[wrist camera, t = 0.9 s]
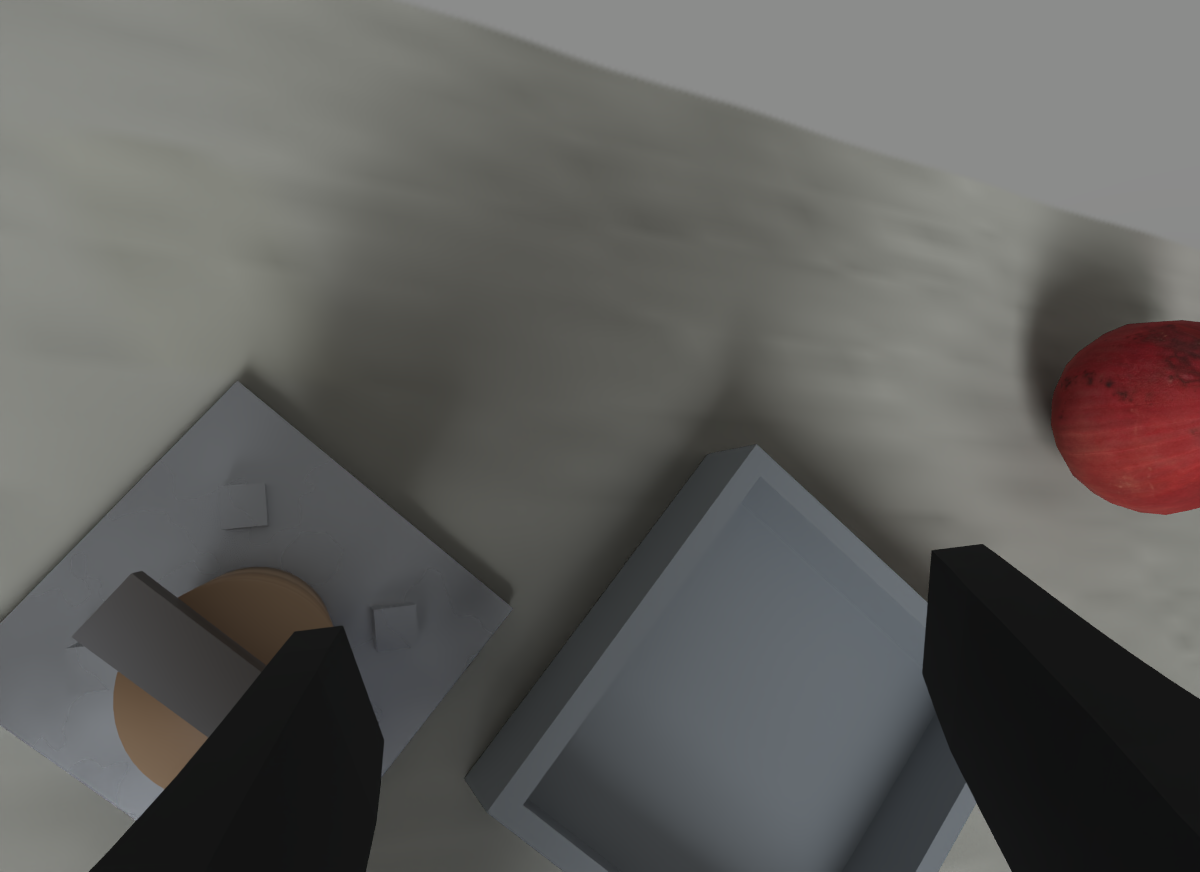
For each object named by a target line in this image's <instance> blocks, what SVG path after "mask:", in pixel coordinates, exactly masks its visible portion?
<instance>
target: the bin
mask: <svg viewBox="0 0 1200 872" xmlns="http://www.w3.org/2000/svg"><path fill="white" fill-rule="evenodd" d="M927 604H928V602H926V601H925V600H924V599H923V598H922V597H921V596H920V595H919V594H918V593H917V592H916V591H915V590H914V589H912V588H911V587H910V586H909V585H908V584H907V583H906V582H905V581H904V580H903V579H902V578H901V577H899V576H898V575H897V574H896V573H895V572H894V571H893V570H892V569H891V568H890V567H889V566H888V565H887V564H885V563H884V562H883V561H882V560H881V559H880V558H879V557H878V556H877V555H876V554H875V553H874V552H873V551H871V550H870V549H869V548H868V547H867V546H866V545H865V544H864V543H863V542H862V541H861V540H860V539H858V538H857V537H856V536H855V535H854V534H853V533H852V532H851V531H850V530H849V529H848V528H847V527H846V526H844V525H843V524H842V523H841V522H840V521H839V520H838V519H837V518H836V517H835V516H834V515H833V514H832V513H830V512H829V511H828V510H827V509H826V508H825V507H824V506H823V505H822V504H821V503H820V502H819V501H817V500H816V499H815V498H814V497H813V496H812V495H811V494H810V493H809V492H808V491H807V490H806V489H805V488H803V487H802V486H801V485H800V484H799V483H798V482H797V481H796V480H795V479H794V478H793V477H792V476H791V475H789V474H788V473H787V472H786V471H785V470H784V469H783V468H782V467H781V466H780V465H779V464H778V463H776V462H775V461H774V460H773V459H772V458H771V457H770V456H769V455H768V454H767V453H766V452H765V451H764V450H762V449H761V448H760V447H759V446H758V445H757V444H755V445H750V446H745V447H740V448H735V449H730V450H725V451H720V452H715V453H710V454H707V456H706V457H705V458H704V460H703V461H702V462H701V464H700V465H699V466H698V468H697V469H696V470H695V472H694V473H693V474H692V476H691V477H690V478H689V480H688V481H687V482H686V484H685V485H684V486H683V488H682V489H681V490H680V492H679V493H678V494H677V496H676V497H675V498H674V500H673V501H672V502H671V504H670V505H669V506H668V508H667V509H666V510H665V512H664V513H663V514H662V516H661V517H660V518H659V520H658V521H657V522H656V524H655V525H654V526H653V528H652V529H651V530H650V532H649V533H648V534H647V536H646V537H645V538H644V540H643V541H642V542H641V544H640V545H639V546H638V548H637V549H636V550H635V552H634V553H633V554H632V556H631V557H630V558H629V560H628V561H627V562H626V564H625V565H624V566H623V568H622V569H621V570H620V572H619V573H618V574H617V576H616V577H615V578H614V580H613V581H612V582H611V584H610V585H609V586H608V588H607V589H606V590H605V592H604V593H603V594H602V596H601V597H600V598H599V600H598V601H597V602H596V604H595V605H594V606H593V608H592V609H591V610H590V612H589V613H588V614H587V616H586V617H585V618H584V620H583V621H582V622H581V624H580V625H579V626H578V628H577V629H576V630H575V632H574V633H573V634H572V636H571V637H570V638H569V640H568V641H567V642H566V644H565V645H564V646H563V648H562V649H561V650H560V652H559V653H558V654H557V656H556V657H555V658H554V660H553V661H552V662H551V664H550V665H549V666H548V668H547V669H546V670H545V672H544V673H543V674H542V676H541V677H540V678H539V680H538V681H537V682H536V684H535V685H534V686H533V688H532V689H531V690H530V692H529V693H528V694H527V696H526V697H525V698H524V700H523V701H522V702H521V704H520V705H519V706H518V708H517V709H516V710H515V712H514V713H513V714H512V716H511V717H510V718H509V720H508V721H507V722H506V724H505V725H504V726H503V728H502V729H501V730H500V732H499V733H498V734H497V736H496V737H495V738H494V740H493V741H492V742H491V744H490V745H489V746H488V748H487V749H486V750H485V752H484V753H483V754H482V756H481V757H480V758H479V760H478V761H477V762H476V764H475V765H474V766H473V768H472V769H471V770H470V772H469V773H468V774H467V776H466V777H465V778H464V779H465V781H466V782H467V784H468V785H469V787H470V788H471V790H472V791H473V793H474V794H475V796H476V797H477V799H478V800H479V802H480V803H481V805H482V806H483V808H484V809H485V811H486V812H487V813H488V814H489V815H491V816H492V817H493V818H495V819H496V820H497V821H499V822H500V823H501V824H502V825H504V826H505V827H506V828H508V829H509V830H510V831H512V832H513V833H514V834H515V835H517V836H518V837H519V838H521V839H522V840H523V841H525V842H526V843H527V844H528V845H530V846H531V847H532V848H534V849H535V850H536V851H538V852H539V853H540V854H541V855H543V856H544V857H545V858H547V859H548V860H549V861H551V862H552V863H553V864H554V865H556V866H557V867H558V868H560V869H561V870H562V871H564V872H938V871H939V869H940V867H941V866H942V864H943V862H944V860H945V858H946V857H947V855H948V853H949V851H950V849H951V848H952V846H953V844H954V842H955V840H956V839H957V837H958V835H959V833H960V831H961V830H962V828H963V826H964V824H965V822H966V821H967V819H968V817H969V815H970V813H971V812H972V810H973V808H974V806H975V804H976V801H975V799H974V797H973V795H972V793H971V791H970V789H969V787H968V785H967V783H966V781H965V779H964V777H963V775H962V773H961V771H960V769H959V767H958V765H957V763H956V761H955V759H954V757H953V755H952V753H951V751H950V749H949V746H948V743H947V741H946V738H945V735H944V733H943V730H942V728H941V725H940V722H939V720H938V717H937V714H936V712H935V709H934V706H933V703H932V700H931V697H930V695H929V692H928V689H927V686H926V683H925V680H924V678H923V675H922V668H923V655H924V643H925V630H926V617H927Z"/></svg>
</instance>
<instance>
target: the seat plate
mask: <svg viewBox="0 0 1200 872" xmlns="http://www.w3.org/2000/svg"><path fill="white" fill-rule="evenodd" d="M247 567H270V568H275V569H280V570H283V571H286V572H289V573H291V574H293V575H295V576H297V577H299V578H300V579H302V580H303V581H305V582H306V583H307V584H308V585H309V586H311V587H312V588H313V589H314V590H315V592H316V593H317V594H318V595H319V596H320V598H321V599H322V601H323V603H324V604H325V606H326V609H327V611H328V613H329V616H330V619H331V621H332V624H333V627H334V626H342V625H343V627H344V629H345V632H346V635H347V638H348V641H349V643H350V646H351V649H352V652H353V654H354V657H355V660H356V663H357V666H358V668H359V671H360V674H361V677H362V679H363V682H364V685H365V688H366V691H367V693H368V696H369V699H370V702H371V704H372V707H373V710H374V713H375V716H376V718H377V721H378V724H379V727H380V729H381V732H382V735H383V738H384V750H383V762H382V774H381V777H382V776H383V775H384V773H385V772H386V771H387V769H388V768H389V767H390V766H391V764H392V763H393V762H394V760H395V759H396V758H397V757H398V755H399V754H400V753H401V751H402V750H403V749H404V748H405V746H406V745H407V744H408V743H409V741H410V740H411V739H412V737H413V736H414V735H415V734H416V732H417V731H418V730H419V728H420V727H421V726H422V725H423V723H424V722H425V721H426V719H427V718H428V717H429V716H430V714H431V713H432V712H433V711H434V709H435V708H436V707H437V705H438V704H439V703H440V702H441V700H442V699H443V698H444V696H445V695H446V694H447V693H448V691H449V690H450V689H451V687H452V686H453V685H454V684H455V682H456V681H457V680H458V679H459V677H460V676H461V675H462V673H463V672H464V671H465V670H466V668H467V667H468V666H469V664H470V663H471V662H472V661H473V659H474V658H475V657H476V655H477V654H478V653H479V652H480V650H481V649H482V648H483V647H484V645H485V644H486V643H487V641H488V640H489V639H490V638H491V636H492V635H493V634H494V632H495V631H496V630H497V629H498V627H499V626H500V625H501V623H502V622H503V621H504V620H505V618H506V617H507V616H508V614H509V613H510V612H511V611H512V609H513V608H512V607H511V606H510V605H508V604H507V603H506V602H505V601H504V600H502V599H501V598H500V597H499V596H498V595H496V594H495V593H494V592H493V591H492V590H490V589H489V588H488V587H487V586H485V585H484V584H483V583H482V582H481V581H479V580H478V579H477V578H476V577H475V576H473V575H472V574H471V573H470V572H469V571H467V570H466V569H465V568H464V567H462V566H461V565H460V564H459V563H458V562H456V561H455V560H454V559H453V558H452V557H450V556H449V555H448V554H447V553H446V552H444V551H443V550H442V549H441V548H439V547H438V546H437V545H436V544H435V543H433V542H432V541H431V540H430V539H429V538H427V537H426V536H425V535H424V534H423V533H421V532H420V531H419V530H418V529H416V528H415V527H414V526H413V525H412V524H410V523H409V522H408V521H407V520H406V519H404V518H403V517H402V516H401V515H400V514H398V513H397V512H396V511H395V510H394V509H392V508H391V507H390V506H389V505H387V504H386V503H385V502H384V501H383V500H381V499H380V498H379V497H378V496H377V495H375V494H374V493H373V492H372V491H371V490H369V489H368V488H367V487H366V486H364V485H363V484H362V483H361V482H360V481H358V480H357V479H356V478H355V477H354V476H352V475H351V474H350V473H349V472H348V471H346V470H345V469H344V468H343V467H341V466H340V465H339V464H338V463H337V462H335V461H334V460H333V459H332V458H331V457H329V456H328V455H327V454H326V453H325V452H323V451H322V450H321V449H320V448H318V447H317V446H316V445H315V444H314V443H312V442H311V441H310V440H309V439H308V438H306V437H305V436H304V435H303V434H302V433H300V432H299V431H298V430H297V429H295V428H294V427H293V426H292V425H291V424H289V423H288V422H287V421H286V420H285V419H283V418H282V417H281V416H280V415H279V414H277V413H276V412H275V411H274V410H273V409H271V408H270V407H269V406H268V405H266V404H265V403H264V402H263V401H262V400H260V399H259V398H258V397H257V396H256V395H254V394H253V393H252V392H251V391H250V390H248V389H247V388H246V387H245V386H243V385H242V384H241V383H240V382H239V381H236V382H235V383H234V384H233V386H232V387H231V388H230V389H229V390H228V391H227V392H226V393H225V394H224V395H223V396H222V397H221V398H220V399H219V400H218V401H217V402H216V403H215V404H214V405H213V406H212V407H211V408H210V409H209V410H208V411H207V412H206V413H205V414H204V415H203V416H202V417H201V418H200V419H199V420H198V421H197V422H196V423H195V424H194V425H193V426H192V427H191V428H190V430H189V431H188V432H187V433H186V434H185V435H184V436H183V437H182V438H181V439H180V440H179V441H178V442H177V443H176V444H175V445H174V446H173V447H172V448H171V449H170V450H169V451H168V452H167V453H166V454H165V455H164V456H163V457H162V458H161V459H160V460H159V461H158V462H157V463H156V464H155V465H154V466H153V467H152V468H151V469H150V470H149V471H148V472H147V474H146V475H145V476H144V477H143V478H142V479H141V480H140V481H139V482H138V483H137V484H136V485H135V486H134V487H133V488H132V489H131V490H130V491H129V492H128V493H127V494H126V495H125V496H124V497H123V498H122V499H121V500H120V501H119V502H118V503H117V504H116V505H115V506H114V507H113V508H112V509H111V510H110V511H109V512H108V513H107V514H106V515H105V516H104V518H103V519H102V520H101V521H100V522H99V523H98V524H97V525H96V526H95V527H94V528H93V529H92V530H91V531H90V532H89V533H88V534H87V535H86V536H85V537H84V538H83V539H82V540H81V541H80V542H79V543H78V544H77V545H76V546H75V547H74V548H73V549H72V550H71V551H70V552H69V553H68V554H67V555H66V556H65V557H64V558H63V559H62V560H61V561H60V563H59V564H58V565H57V566H56V567H55V568H54V569H53V570H52V571H51V572H50V573H49V574H48V575H47V576H46V577H45V578H44V579H43V580H42V581H41V582H40V583H39V584H38V585H37V586H36V587H35V588H34V589H33V590H32V591H31V592H30V593H29V594H28V595H27V596H26V597H25V598H24V599H23V600H22V601H21V602H20V603H19V604H18V605H17V607H16V608H15V609H14V610H13V611H12V612H11V613H10V614H9V615H8V616H7V617H6V618H5V619H4V620H3V621H2V622H1V623H0V725H1V726H2V727H4V728H5V729H6V730H8V731H9V732H11V733H12V734H14V735H15V736H16V737H18V738H19V739H21V740H22V741H23V742H25V743H26V744H28V745H29V746H31V747H32V748H33V749H35V750H36V751H38V752H39V753H41V754H42V755H43V756H45V757H46V758H48V759H49V760H50V761H52V762H53V763H55V764H56V765H58V766H59V767H60V768H62V769H63V770H65V771H66V772H68V773H69V774H70V775H72V776H73V777H75V778H76V779H77V780H79V781H80V782H82V783H83V784H85V785H86V786H87V787H89V788H90V789H92V790H93V791H95V792H96V793H97V794H99V795H100V796H102V797H103V798H104V799H106V800H107V801H109V802H110V803H112V804H113V805H114V806H116V807H117V808H119V809H120V810H122V811H123V812H124V813H126V814H127V815H129V816H130V817H131V818H133V819H134V820H137V819H138V818H139V817H140V816H141V815H142V814H143V813H144V812H145V810H146V809H147V808H148V807H149V806H150V805H151V804H152V803H153V802H154V800H155V799H156V798H157V797H158V796H159V795H160V794H161V793H162V792H163V790H164V789H163V788H162V787H160V786H158V785H157V784H155V783H154V782H152V781H151V780H150V779H149V778H148V777H146V776H145V775H144V774H143V773H142V772H141V771H140V770H139V769H138V768H137V766H136V765H135V764H134V763H133V762H132V760H131V759H130V757H129V755H128V754H127V752H126V751H125V749H124V747H123V745H122V742H121V740H120V738H119V735H118V731H117V728H116V724H115V719H114V711H113V692H114V686H115V680H116V676H117V672H118V671H117V670H116V669H114V668H113V667H112V666H110V665H109V664H107V663H106V662H105V661H103V660H102V659H101V658H99V657H98V656H97V655H95V654H94V653H92V652H91V651H90V650H88V649H87V648H86V647H84V646H83V645H82V644H80V643H79V642H78V641H76V640H75V639H73V638H72V636H73V635H74V633H75V632H76V631H77V630H78V629H79V628H80V627H81V626H82V625H83V624H84V623H85V622H86V621H87V620H88V619H89V618H90V617H91V615H92V614H93V613H94V612H95V611H96V610H97V609H98V608H99V607H100V606H101V605H102V604H103V603H104V602H105V601H106V600H107V599H108V597H109V596H110V595H111V594H112V593H113V592H114V591H115V590H116V589H117V588H118V587H119V586H120V585H121V584H122V583H123V582H124V581H125V579H126V578H127V577H128V576H129V575H130V574H131V573H135V572H139V571H143V572H145V573H146V574H147V575H148V576H150V577H151V578H152V579H154V580H155V581H156V582H158V583H159V584H160V585H162V586H163V587H164V588H165V589H167V590H168V591H169V592H171V593H172V594H173V595H175V596H176V597H177V598H178V597H180V596H181V595H183V594H185V593H187V592H189V591H191V590H193V589H195V588H197V587H199V586H201V585H203V584H205V583H207V582H209V581H211V580H213V579H215V578H216V577H218V576H221V575H223V574H225V573H228V572H230V571H234V570H237V569H241V568H247Z"/></svg>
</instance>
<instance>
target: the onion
mask: <svg viewBox="0 0 1200 872" xmlns="http://www.w3.org/2000/svg"><path fill="white" fill-rule="evenodd" d="M1051 426H1052V430H1053V434H1054V438H1055V442H1056V446H1057V448H1058V449H1059V451H1060V453H1061V455H1062V457H1063V458H1064V460H1065V462H1066V464H1067V466H1068V467H1069V469H1070V471H1071V473H1072V474H1073V476H1074V477H1076V478H1077V479H1078V480H1079V481H1080V482H1081V483H1082V484H1084V485H1085V486H1086V487H1087V488H1088V489H1089V490H1091V491H1092V492H1093V493H1094V494H1096V495H1098V496H1100V497H1101V498H1103V499H1105V500H1107V501H1109V502H1110V503H1112V504H1115V505H1119V506H1122V507H1125V508H1128V509H1131V510H1134V511H1138V512H1143V513H1153V514H1163V515H1167V514H1172V513H1178V512H1183V511H1188V510H1192V509H1196V508H1200V322H1193V321H1184V320H1179V321H1163V322H1148V323H1136V324H1127V325H1124V326H1122V327H1120V328H1117V329H1115V330H1112V331H1110V332H1107V333H1105V334H1103V335H1102V336H1100V337H1099V338H1098V339H1096V340H1095V341H1093V342H1092V343H1090V344H1089V345H1088V346H1086V347H1085V348H1083V349H1082V350H1080V351H1079V352H1078V353H1077V354H1076V355H1075V356H1074V357H1073V358H1072V360H1071V361H1070V362H1069V363H1068V364H1067V365H1066V366H1065V369H1064V371H1063V373H1062V375H1061V377H1060V379H1059V382H1058V384H1057V386H1056V388H1055V390H1054V394H1053V399H1052V415H1051Z"/></svg>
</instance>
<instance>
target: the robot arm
mask: <svg viewBox="0 0 1200 872" xmlns="http://www.w3.org/2000/svg"><path fill="white" fill-rule="evenodd" d="M922 675H923V678H924V680H925V683H926V686H927V689H928V692H929V695H930V697H931V700H932V703H933V706H934V709H935V712H936V714H937V717H938V720H939V722H940V725H941V728H942V730H943V733H944V735H945V738H946V741H947V743H948V746H949V749H950V751H951V753H952V755H953V757H954V759H955V761H956V763H957V765H958V767H959V769H960V771H961V773H962V775H963V777H964V779H965V781H966V783H967V785H968V787H969V789H970V791H971V793H972V795H973V797H974V799H975V801H976V803H977V805H978V807H979V809H980V811H981V813H982V815H983V816H984V818H985V820H986V822H987V824H988V826H989V828H990V830H991V832H992V834H993V836H994V838H995V840H996V842H997V844H998V846H999V847H1000V849H1001V851H1002V853H1003V855H1004V857H1005V859H1006V861H1007V863H1008V865H1009V867H1010V869H1011V871H1012V872H1200V699H1199V698H1197V697H1196V696H1194V695H1193V694H1191V693H1190V692H1188V691H1186V690H1185V689H1183V688H1182V687H1180V686H1179V685H1177V684H1176V683H1174V682H1173V681H1171V680H1170V679H1168V678H1167V677H1165V676H1164V675H1162V674H1161V673H1159V672H1158V671H1156V670H1155V669H1153V668H1152V667H1150V666H1149V665H1147V664H1146V663H1144V662H1143V661H1141V660H1140V659H1139V658H1137V657H1136V656H1134V655H1133V654H1131V653H1130V652H1129V651H1127V650H1126V649H1124V648H1123V647H1121V646H1120V645H1119V644H1117V643H1116V642H1114V641H1113V640H1112V639H1110V638H1109V637H1107V636H1106V635H1105V634H1103V633H1102V632H1100V631H1099V630H1098V629H1096V628H1095V627H1093V626H1092V625H1091V624H1089V623H1088V622H1087V621H1085V620H1084V619H1082V618H1081V617H1080V616H1078V615H1077V614H1076V613H1074V612H1073V611H1072V610H1070V609H1069V608H1068V607H1066V606H1065V605H1064V604H1062V603H1061V602H1060V601H1058V600H1057V599H1056V598H1054V597H1053V596H1052V595H1050V594H1049V593H1047V592H1046V591H1045V590H1044V589H1042V588H1041V587H1040V586H1038V585H1037V584H1036V583H1034V582H1033V581H1032V580H1030V579H1029V578H1028V577H1026V576H1025V575H1024V574H1022V573H1021V572H1020V571H1018V570H1017V569H1016V568H1014V567H1013V566H1012V565H1010V564H1009V563H1008V562H1006V561H1005V560H1004V559H1002V558H1001V557H1000V556H998V555H997V554H996V553H994V552H993V551H992V550H990V549H989V548H987V547H986V546H985V545H983V544H979V545H971V546H963V547H955V548H947V549H939V550H932V553H931V566H930V579H929V592H928V604H927V617H926V630H925V643H924V655H923V668H922ZM383 750H384V738H383V735H382V732H381V729H380V727H379V724H378V721H377V718H376V716H375V713H374V710H373V707H372V704H371V702H370V699H369V696H368V693H367V691H366V688H365V685H364V682H363V679H362V677H361V674H360V671H359V668H358V666H357V663H356V660H355V657H354V654H353V652H352V649H351V646H350V643H349V641H348V638H347V635H346V632H345V629H344V627H343V625H342V626H334V627H326V628H318V629H311V630H303V631H295V632H294V633H293V634H292V635H291V636H290V637H289V639H288V640H287V641H286V642H285V643H284V645H283V646H282V647H281V648H280V650H279V651H278V652H277V653H276V654H275V656H274V657H273V658H272V659H271V661H270V662H269V663H268V664H267V666H266V667H265V668H264V669H263V671H262V672H261V673H260V674H259V676H258V677H257V678H256V679H255V681H254V682H253V683H252V684H251V686H250V687H249V688H248V689H247V691H246V692H245V693H244V694H243V696H242V697H241V698H240V699H239V701H238V702H237V703H236V704H235V705H234V707H233V708H232V709H231V710H230V712H229V713H228V714H227V715H226V717H225V718H224V719H223V720H222V722H221V723H220V724H219V725H218V727H217V728H216V729H215V730H214V731H213V733H212V734H211V735H210V736H209V737H208V739H207V740H206V741H205V742H204V743H203V745H202V746H201V747H200V748H199V749H198V751H197V752H196V753H195V754H194V755H193V757H192V758H191V759H190V760H189V761H188V763H187V764H186V765H185V766H184V767H183V769H182V770H181V771H180V772H179V773H178V775H177V776H176V777H175V778H174V779H173V780H172V781H171V783H170V784H169V785H168V786H167V787H166V788H165V789H164V790H163V792H162V793H161V794H160V795H159V796H158V797H157V798H156V799H155V800H154V802H153V803H152V804H151V805H150V806H149V807H148V808H147V809H146V810H145V812H144V813H143V814H142V815H141V816H140V817H139V818H138V819H137V820H136V822H135V823H134V824H133V825H132V826H131V827H130V828H129V829H128V830H127V832H126V833H125V834H124V835H123V836H122V837H121V838H120V839H119V840H118V842H117V843H116V844H115V845H114V846H113V847H112V848H111V849H110V850H109V851H108V852H107V853H106V854H105V856H104V857H103V858H102V859H101V860H100V861H99V862H98V863H97V864H96V865H95V866H94V867H93V868H92V869H91V870H90V871H89V872H366V867H367V863H368V858H369V854H370V849H371V845H372V840H373V835H374V830H375V826H376V821H377V812H378V803H379V794H380V785H381V774H382V762H383Z"/></svg>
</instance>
